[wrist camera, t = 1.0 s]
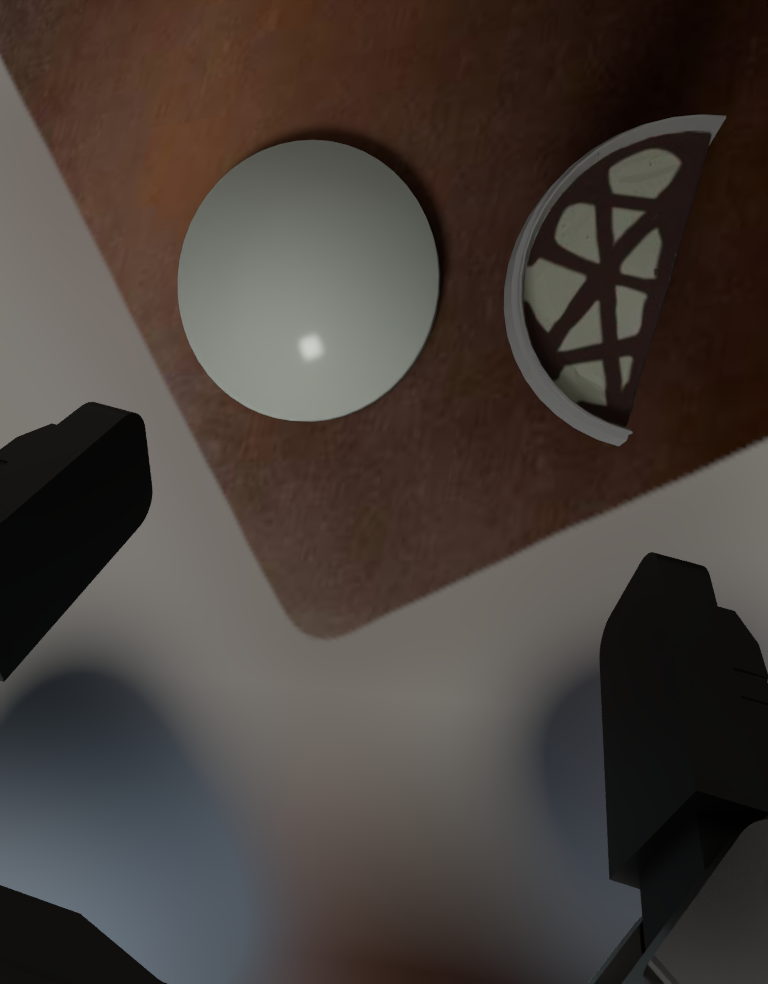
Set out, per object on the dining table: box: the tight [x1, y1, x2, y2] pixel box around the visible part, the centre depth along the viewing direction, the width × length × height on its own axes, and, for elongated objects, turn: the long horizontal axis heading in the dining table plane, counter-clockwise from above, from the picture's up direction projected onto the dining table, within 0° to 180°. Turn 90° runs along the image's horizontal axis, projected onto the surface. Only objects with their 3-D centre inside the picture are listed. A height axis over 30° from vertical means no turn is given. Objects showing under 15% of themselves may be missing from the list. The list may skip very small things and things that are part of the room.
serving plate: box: [178, 140, 441, 421], centre depth 34 cm, size 15×15×1 cm
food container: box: [504, 115, 726, 446], centre depth 27 cm, size 12×6×10 cm, turn 166°
